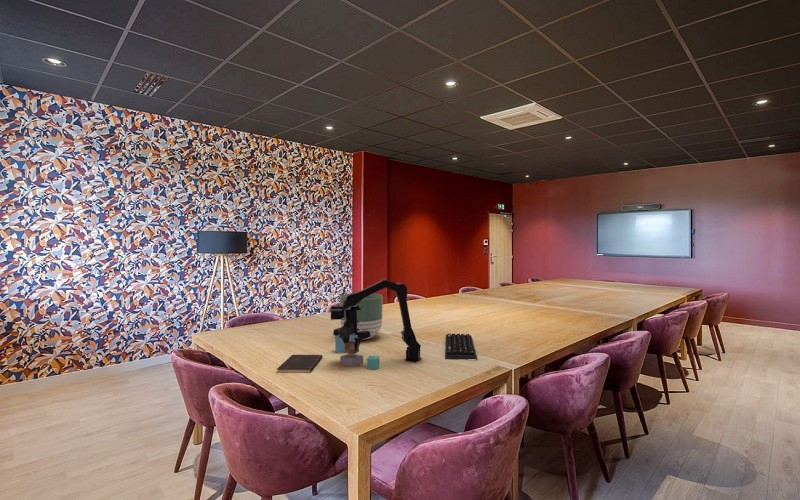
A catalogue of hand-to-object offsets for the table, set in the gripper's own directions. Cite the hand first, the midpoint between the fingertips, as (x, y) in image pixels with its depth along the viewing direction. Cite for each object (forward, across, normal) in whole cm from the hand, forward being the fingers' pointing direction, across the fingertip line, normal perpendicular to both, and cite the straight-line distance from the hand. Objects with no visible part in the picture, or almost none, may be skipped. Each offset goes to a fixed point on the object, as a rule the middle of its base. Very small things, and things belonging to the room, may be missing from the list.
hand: (351, 350), depth 192 cm
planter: (+7, -23, +45) cm, 51 cm away
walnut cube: (+1, 0, 0) cm, 1 cm away
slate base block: (+7, 0, 0) cm, 7 cm away
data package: (+7, -15, +17) cm, 24 cm away
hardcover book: (+7, -21, -13) cm, 26 cm away
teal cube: (+7, +13, -1) cm, 15 cm away
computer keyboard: (+7, +39, +51) cm, 65 cm away
